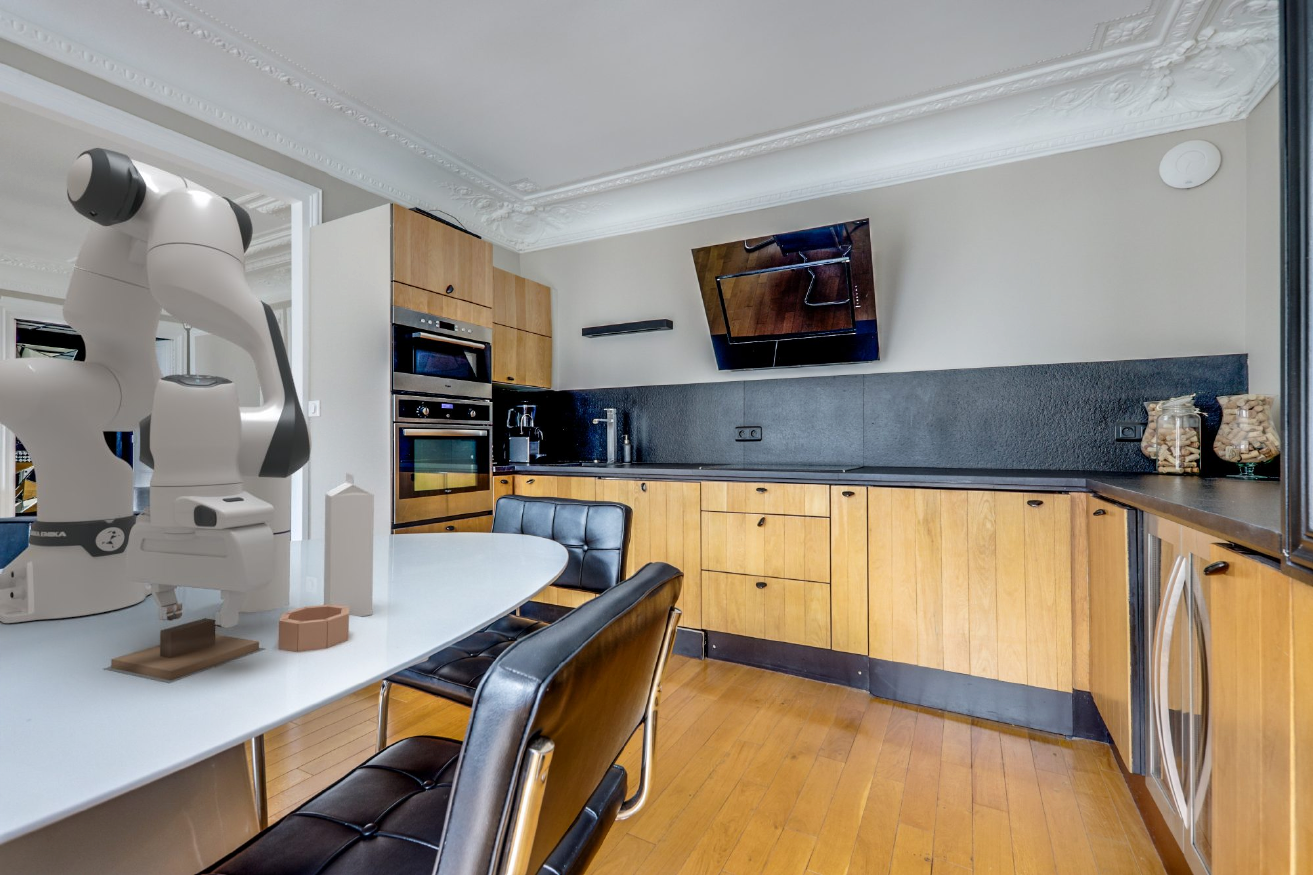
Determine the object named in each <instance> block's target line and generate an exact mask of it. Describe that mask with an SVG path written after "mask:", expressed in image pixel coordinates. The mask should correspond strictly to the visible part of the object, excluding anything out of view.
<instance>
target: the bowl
mask: <svg viewBox="0 0 1313 875" xmlns="http://www.w3.org/2000/svg"><path fill="white" fill-rule="evenodd" d="M349 635H350V615H349V607H346V606H339V605H332V604H330V605H324V604H321V605H320V604H319V605H312V606H311V605H309V606H308V605H307V606H303V607H299V608H296V609H292V610H289V611H285V612H282V613H281V615H280V618H279V620H278V641H277V642H278V649H279V650H283V651H288V652H294V653H301V652H310V651H317V650H324V649H329V648H331V647H333V646H337V645H339V644H340V645H341V644H342V643H344V642H347V641H348V640H349Z"/></svg>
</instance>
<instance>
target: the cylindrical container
mask: <svg viewBox="0 0 1313 875" xmlns="http://www.w3.org/2000/svg"><path fill="white" fill-rule="evenodd" d="M242 481H243V487H242V488H243V491H246V492H248V493H249V494H251V495H253V496H255V497H256V498H258V499H261V500H263V501H265V502H267V503H269V504H271V505H272V506H273V507H274V519H273V520H272V521H271V522H266V523H265V524H267V525H268V526H269V527H270V528H271V530H272V532H273V536H274V547H275V568H274V576H273V578H272V580H271V582H270V583H269V585H268V586H266V587H263V588H260V589H256V590H252V591H248V592H247V596H246V598H245V600H244V602H243V604H242V606H241V608H240V609H239V613H261V612H267V611H272V610H273V611H274V610H277V609H281V608H284V607H287V608H290V586H291V584H290V582H291V581H290V580H291V523H292V522H291V521H292V520H291V516H292V514H291V513H292V510H291V509H292V506H291V505H292V475H290V476H288V477H286V478H274V477H258V476H242Z"/></svg>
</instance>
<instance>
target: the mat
mask: <svg viewBox="0 0 1313 875" xmlns="http://www.w3.org/2000/svg"><path fill="white" fill-rule="evenodd" d="M264 650H266V648H264V647H259V650H256V651H253V652H250V653H248V654H245V655H242V656H239V657H236V658H233V659H231V660H228V661H225V662H222V663H219V664H216V665H214V666H211V667H208V668H205V669H202V670H199V671H196V672H194V673H191V674H188V675H185V676H182V677H179V678H177V679H174V680H167V679H162V678H157V677H152V676H148V675H143V674H138V673H133V672H129V671H124V670H119V669H114V668H111V666H108V667H104V668H103V670H104V671H110V672H114V673H118V674H125V675H129V676H133V677H138V678H141V679H146V680H152V681H157V682H161V683H166V684H172V683H174V682H177V681H180V680H183V679H185V678H188V677H191V676H193V675H196V674H200V673H203V672H205V671H209V670H210V669H211V670H212V669H213V668H217V667H219V666H222V665H225V664H228V663H230V662H233V661H237V660H239V659H241V658H244V657H247V656H250V655H253V654H255V653H259V652H261V651H264Z"/></svg>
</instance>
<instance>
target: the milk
mask: <svg viewBox="0 0 1313 875" xmlns="http://www.w3.org/2000/svg"><path fill="white" fill-rule="evenodd" d="M354 478H355V476H354V474H352V473H349V472H346V473H345V482H344V483H341V484H339V485H338V486H336V487H334V488H332V489H331V490H328V491H327V492H325V495H324V496H325V498H324V499H325V500H324V509H325V510H324V554H323V555H324V559H323V560H324V565H323V566H324V567H323V605H330V604H332V605H339V606H346V607H349V616H351V617H352V616H353V617H359V618H360V617H361V618H362V617H366V616H372V615H373V595H374V594H373V593H374V588H373V587H374V586H373V585H374V583H373V582H374V581H373V579H374V574H373V573H374V523H375V522H374V518H375V517H374V516H375V513H374V512H375V511H374V510H375V506H374V505H375V503H374V502H375V495H374V494H373V493H372V492H370V491H368V490H365V489H364V488H361V487H359V486H357V485H355V484H354Z"/></svg>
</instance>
